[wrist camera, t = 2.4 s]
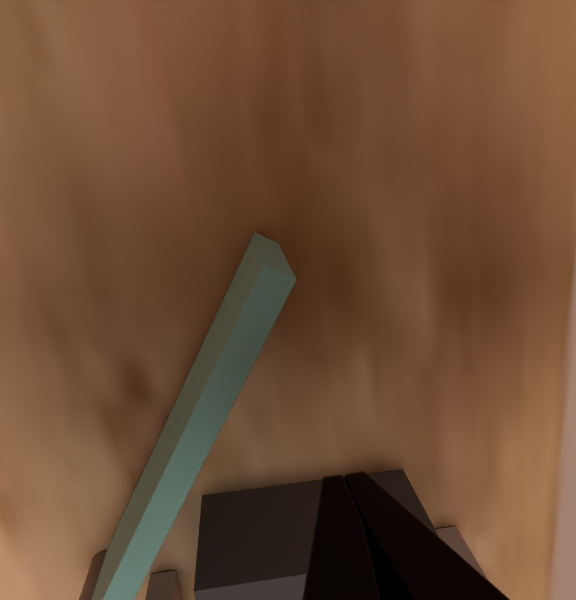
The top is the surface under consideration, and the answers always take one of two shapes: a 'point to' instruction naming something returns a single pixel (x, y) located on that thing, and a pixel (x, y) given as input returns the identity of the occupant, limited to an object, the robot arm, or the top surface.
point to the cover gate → (197, 416)
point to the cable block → (269, 538)
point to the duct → (165, 587)
